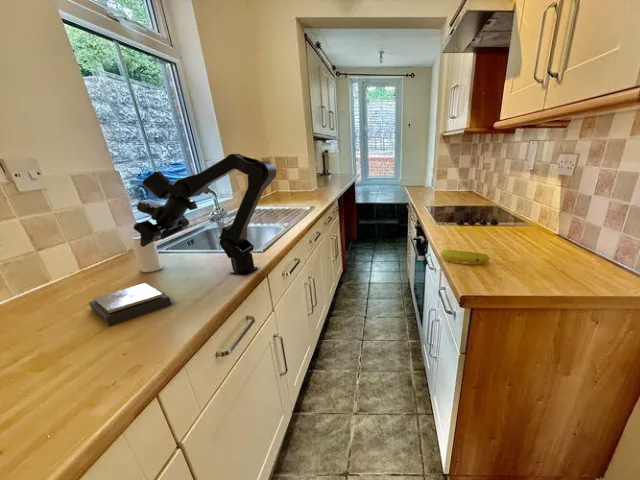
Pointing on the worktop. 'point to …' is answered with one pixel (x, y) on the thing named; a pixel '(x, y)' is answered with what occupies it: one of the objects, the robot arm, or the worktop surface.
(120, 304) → the scale pan
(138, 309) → the scale
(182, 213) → the robot arm
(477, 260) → the banana
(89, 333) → the worktop surface
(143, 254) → the can
